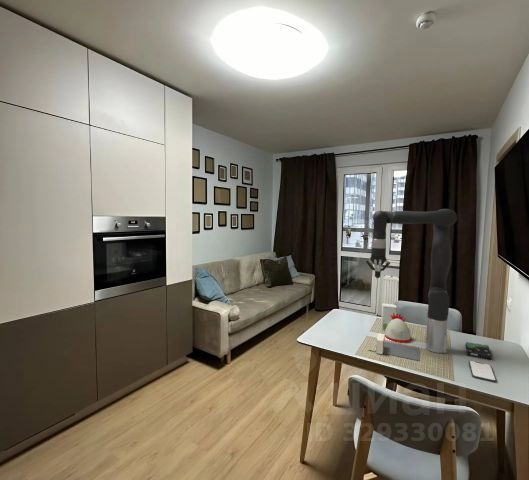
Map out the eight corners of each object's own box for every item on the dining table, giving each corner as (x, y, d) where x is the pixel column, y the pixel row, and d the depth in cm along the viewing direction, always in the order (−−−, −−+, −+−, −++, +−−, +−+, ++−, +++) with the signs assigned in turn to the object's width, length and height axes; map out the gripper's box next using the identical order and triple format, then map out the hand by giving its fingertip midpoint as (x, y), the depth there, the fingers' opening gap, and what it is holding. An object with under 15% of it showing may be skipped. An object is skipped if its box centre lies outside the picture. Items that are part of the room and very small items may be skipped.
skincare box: (381, 329, 184) (382, 305, 183) (380, 326, 190) (381, 302, 189) (396, 331, 182) (397, 307, 180) (394, 327, 188) (395, 304, 187)
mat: (418, 348, 158) (418, 347, 158) (419, 361, 144) (419, 360, 144) (371, 339, 169) (371, 339, 169) (368, 350, 154) (368, 350, 154)
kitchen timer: (386, 331, 181) (387, 308, 180) (411, 336, 174) (412, 312, 173) (383, 339, 169) (384, 314, 168) (409, 345, 162) (410, 318, 161)
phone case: (497, 384, 125) (490, 367, 139) (497, 381, 125) (490, 364, 138) (471, 379, 129) (468, 363, 143) (472, 375, 129) (468, 359, 143)
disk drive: (492, 361, 145) (488, 350, 158) (492, 356, 145) (488, 345, 157) (466, 356, 150) (464, 345, 163) (467, 351, 150) (465, 341, 163)
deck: (384, 334, 158) (383, 341, 149) (384, 346, 158) (382, 354, 150) (378, 333, 159) (376, 339, 150) (378, 345, 160) (376, 353, 151)
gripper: (392, 247, 162) (390, 278, 163) (367, 245, 168) (366, 275, 169) (391, 248, 155) (389, 280, 156) (365, 246, 161) (364, 277, 162)
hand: (377, 277), depth 162 cm, fingers closed
